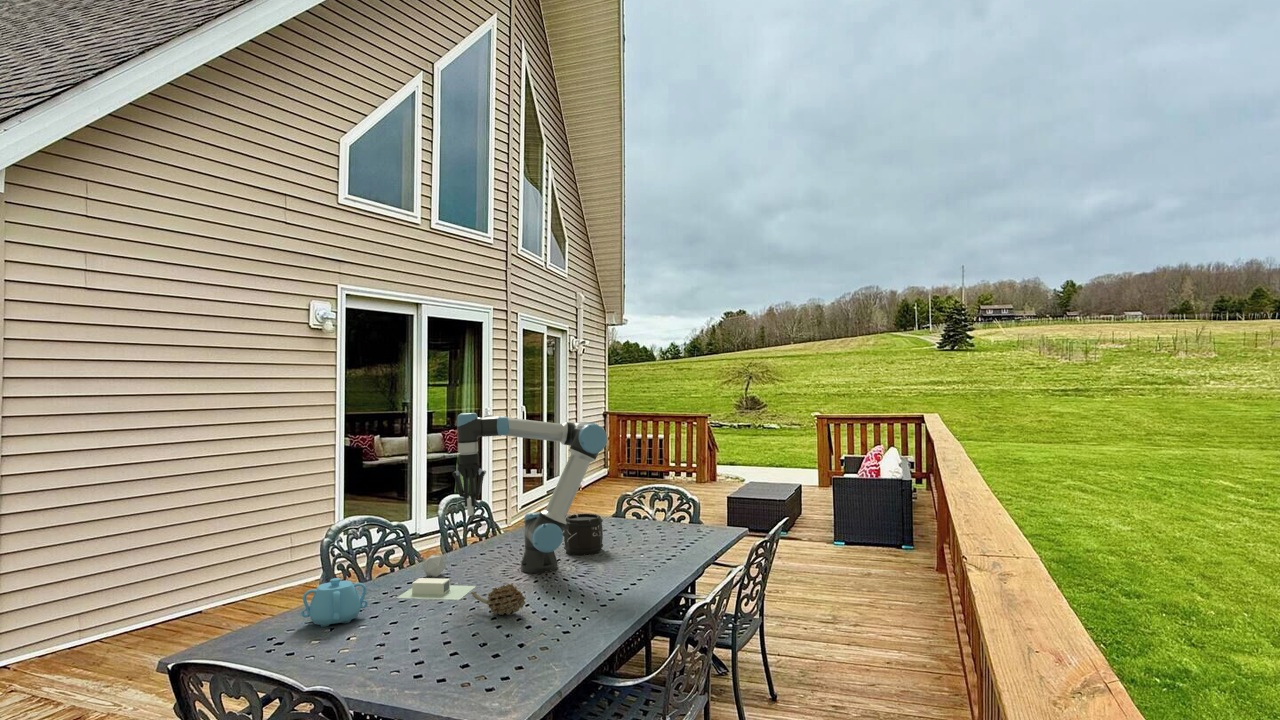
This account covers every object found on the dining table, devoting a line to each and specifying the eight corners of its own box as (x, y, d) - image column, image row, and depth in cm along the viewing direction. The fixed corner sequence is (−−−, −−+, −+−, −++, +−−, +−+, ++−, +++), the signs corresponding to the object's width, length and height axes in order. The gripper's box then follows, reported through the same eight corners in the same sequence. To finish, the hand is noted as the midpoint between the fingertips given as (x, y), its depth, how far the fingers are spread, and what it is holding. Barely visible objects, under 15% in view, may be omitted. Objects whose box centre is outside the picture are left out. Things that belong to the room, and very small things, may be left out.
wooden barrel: (568, 546, 313) (568, 512, 314) (605, 546, 311) (605, 513, 311) (558, 556, 295) (558, 520, 296) (598, 556, 293) (597, 520, 293)
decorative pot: (332, 633, 207) (332, 589, 208) (296, 625, 214) (296, 583, 214) (372, 616, 222) (372, 575, 223) (338, 609, 229) (338, 570, 229)
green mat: (476, 586, 252) (476, 586, 252) (459, 600, 236) (459, 599, 236) (416, 585, 256) (416, 584, 256) (396, 598, 240) (396, 598, 240)
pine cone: (532, 612, 222) (531, 582, 223) (516, 621, 214) (516, 590, 214) (477, 605, 231) (476, 576, 231) (459, 614, 222) (459, 584, 222)
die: (450, 575, 270) (444, 553, 275) (442, 570, 263) (437, 548, 268) (430, 583, 269) (425, 561, 274) (422, 578, 262) (417, 556, 267)
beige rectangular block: (449, 578, 249) (419, 578, 250) (443, 583, 243) (412, 582, 244) (449, 589, 249) (419, 588, 250) (443, 594, 243) (412, 593, 244)
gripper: (487, 451, 258) (490, 512, 258) (455, 452, 259) (457, 513, 259) (481, 453, 251) (484, 516, 250) (448, 455, 252) (450, 517, 251)
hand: (470, 514), depth 254 cm, fingers closed
